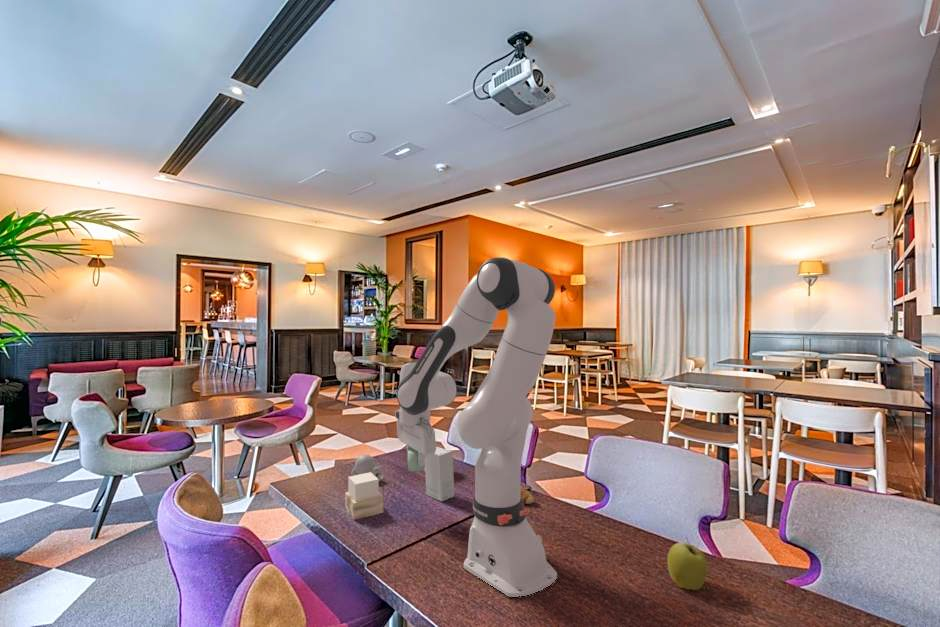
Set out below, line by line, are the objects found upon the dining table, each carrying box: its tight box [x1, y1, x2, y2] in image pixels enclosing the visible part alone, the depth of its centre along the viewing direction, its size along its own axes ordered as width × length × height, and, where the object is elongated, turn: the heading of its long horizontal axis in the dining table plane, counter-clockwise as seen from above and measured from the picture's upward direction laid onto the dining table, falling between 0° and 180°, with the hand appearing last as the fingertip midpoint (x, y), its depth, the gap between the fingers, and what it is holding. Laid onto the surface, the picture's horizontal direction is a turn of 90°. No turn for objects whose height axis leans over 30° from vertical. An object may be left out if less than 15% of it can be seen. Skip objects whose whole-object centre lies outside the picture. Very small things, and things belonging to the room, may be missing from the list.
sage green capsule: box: [407, 449, 425, 472], centre depth 124 cm, size 5×5×5 cm
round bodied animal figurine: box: [350, 454, 384, 483], centre depth 150 cm, size 7×12×8 cm, turn 64°
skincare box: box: [424, 446, 455, 502], centre depth 137 cm, size 8×6×15 cm
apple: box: [667, 536, 709, 591], centre depth 91 cm, size 8×8×10 cm
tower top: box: [347, 472, 380, 502], centre depth 127 cm, size 7×7×5 cm
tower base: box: [344, 491, 384, 521], centre depth 127 cm, size 9×9×5 cm
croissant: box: [521, 483, 535, 505], centre depth 136 cm, size 21×10×8 cm, turn 55°
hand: (416, 462), depth 124 cm, fingers closed on sage green capsule, 5 cm apart
